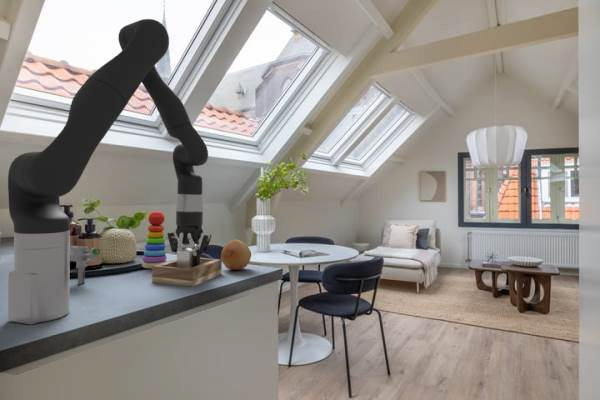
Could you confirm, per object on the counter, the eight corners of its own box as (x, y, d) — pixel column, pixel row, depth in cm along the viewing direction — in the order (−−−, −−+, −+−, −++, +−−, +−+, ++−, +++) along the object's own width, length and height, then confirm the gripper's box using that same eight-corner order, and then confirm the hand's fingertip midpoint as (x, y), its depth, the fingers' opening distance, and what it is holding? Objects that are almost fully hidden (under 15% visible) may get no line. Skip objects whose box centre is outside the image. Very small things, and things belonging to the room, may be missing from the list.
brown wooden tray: (192, 286, 98) (192, 270, 98) (152, 282, 102) (152, 266, 102) (221, 273, 113) (221, 259, 113) (185, 270, 117) (185, 256, 117)
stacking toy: (161, 269, 117) (162, 212, 117) (137, 269, 118) (138, 211, 117) (170, 264, 125) (171, 210, 125) (147, 264, 125) (148, 210, 125)
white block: (188, 272, 104) (189, 251, 104) (176, 271, 105) (177, 250, 105) (200, 268, 110) (200, 248, 110) (188, 267, 111) (188, 247, 111)
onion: (251, 273, 116) (251, 241, 115) (219, 273, 114) (220, 241, 114) (250, 266, 125) (251, 237, 125) (221, 266, 124) (222, 237, 123)
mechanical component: (93, 286, 96) (93, 248, 96) (60, 283, 98) (60, 246, 98) (101, 283, 99) (101, 247, 99) (69, 280, 101) (69, 245, 101)
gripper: (160, 209, 105) (160, 268, 106) (204, 211, 101) (203, 272, 102) (176, 208, 113) (175, 263, 113) (217, 210, 109) (216, 267, 109)
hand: (188, 267), depth 107 cm, fingers closed on white block, 4 cm apart
